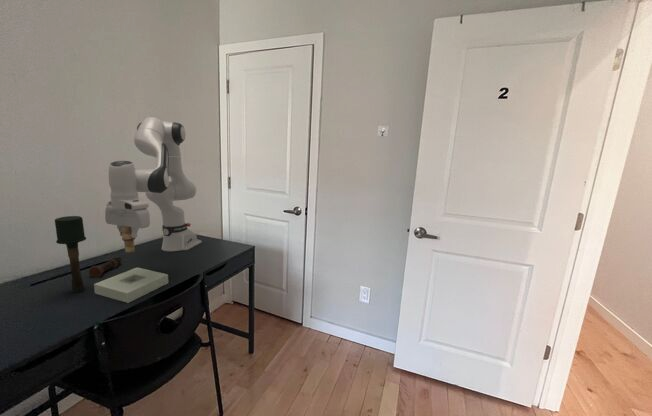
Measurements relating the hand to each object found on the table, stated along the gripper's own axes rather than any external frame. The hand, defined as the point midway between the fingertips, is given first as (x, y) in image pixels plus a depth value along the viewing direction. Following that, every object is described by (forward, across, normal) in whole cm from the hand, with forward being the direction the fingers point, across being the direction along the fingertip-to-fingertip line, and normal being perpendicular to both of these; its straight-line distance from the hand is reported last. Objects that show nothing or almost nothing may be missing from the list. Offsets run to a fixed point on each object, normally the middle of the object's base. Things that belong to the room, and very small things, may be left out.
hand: (128, 236), depth 112 cm
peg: (+6, 0, 0) cm, 6 cm away
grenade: (+22, -17, -10) cm, 30 cm away
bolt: (+22, -26, +7) cm, 35 cm away
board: (+22, 0, 0) cm, 22 cm away
